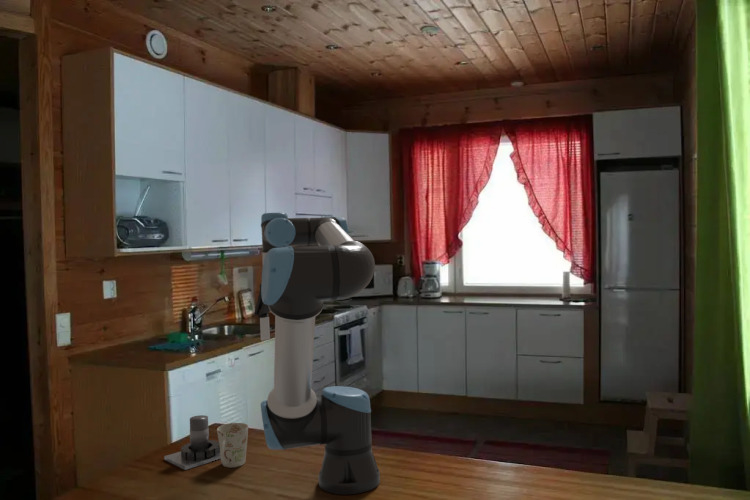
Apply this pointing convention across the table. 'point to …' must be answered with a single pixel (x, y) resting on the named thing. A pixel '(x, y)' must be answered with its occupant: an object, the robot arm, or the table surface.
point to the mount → (194, 456)
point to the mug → (233, 443)
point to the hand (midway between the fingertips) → (279, 342)
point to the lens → (199, 432)
